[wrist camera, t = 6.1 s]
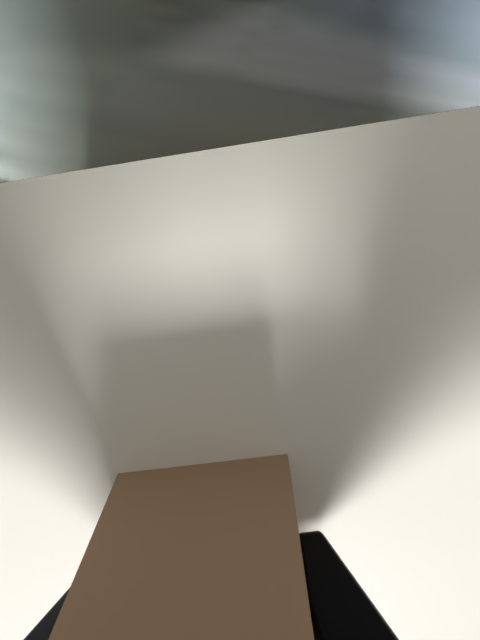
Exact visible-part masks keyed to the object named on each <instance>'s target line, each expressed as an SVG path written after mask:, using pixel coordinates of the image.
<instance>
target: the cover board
mask: <svg viewBox="0 0 480 640" xmlns="http://www.w3.org/2000/svg"><path fill="white" fill-rule="evenodd" d="M311 531H320V532H322V533H323V534H324V536H325V537H326V538H327V540H328V541H329V543H330V544H331V545H332V547H333V548H334V550H335V551H336V552H337V554H338V555H339V557H340V558H341V559H342V561H343V562H344V563H345V565H346V566H347V568H348V569H349V570H350V572H351V573H352V575H353V576H354V577H355V579H356V580H357V582H358V583H359V584H360V586H361V587H362V589H363V590H364V591H365V593H366V594H367V596H368V597H369V598H370V600H371V601H372V603H373V604H374V605H375V607H376V608H377V609H378V611H379V612H380V614H381V615H382V616H383V618H384V619H385V621H386V622H387V623H388V625H389V626H390V628H391V629H392V630H393V632H394V633H395V635H396V636H397V637H398V639H399V640H480V106H476V107H470V108H464V109H458V110H451V111H445V112H439V113H433V114H427V115H420V116H414V117H408V118H402V119H395V120H389V121H383V122H377V123H371V124H364V125H358V126H352V127H346V128H339V129H333V130H327V131H321V132H315V133H308V134H302V135H296V136H290V137H283V138H277V139H271V140H265V141H258V142H252V143H246V144H240V145H234V146H227V147H221V148H215V149H209V150H202V151H196V152H190V153H184V154H178V155H171V156H165V157H159V158H153V159H146V160H140V161H134V162H128V163H122V164H115V165H109V166H103V167H97V168H90V169H84V170H78V171H72V172H66V173H59V174H53V175H47V176H41V177H34V178H28V179H22V180H16V181H10V182H3V183H0V640H23V639H24V638H25V637H26V636H27V635H28V634H29V633H30V631H31V630H32V629H33V628H34V627H35V626H36V625H37V624H38V623H39V621H40V620H41V619H42V618H43V617H44V616H45V615H46V614H47V612H48V611H49V610H50V609H51V608H52V607H53V606H54V605H55V603H56V602H57V601H58V600H59V599H60V598H61V597H62V596H63V594H64V593H65V592H66V591H67V590H68V589H69V588H70V589H69V591H68V594H67V596H66V599H65V601H64V603H63V606H62V608H61V610H60V613H59V615H58V618H57V620H56V622H55V625H54V627H53V630H52V632H51V634H50V637H49V639H48V640H314V634H313V627H312V620H311V613H310V606H309V599H308V592H307V586H306V579H305V572H304V565H303V558H302V551H301V544H300V537H299V533H301V532H311Z"/></svg>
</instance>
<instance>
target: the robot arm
mask: <svg viewBox="0 0 480 640" xmlns="http://www.w3.org/2000/svg"><path fill="white" fill-rule="evenodd" d="M299 537H300V544H301V551H302V558H303V565H304V572H305V579H306V586H307V592H308V599H309V606H310V613H311V620H312V627H313V634H314V640H399V639H398V637H397V636H396V635H395V633H394V632H393V630H392V629H391V628H390V626H389V625H388V623H387V622H386V621H385V619H384V618H383V616H382V615H381V614H380V612H379V611H378V609H377V608H376V607H375V605H374V604H373V603H372V601H371V600H370V598H369V597H368V596H367V594H366V593H365V591H364V590H363V589H362V587H361V586H360V584H359V583H358V582H357V580H356V579H355V577H354V576H353V575H352V573H351V572H350V570H349V569H348V568H347V566H346V565H345V563H344V562H343V561H342V559H341V558H340V557H339V555H338V554H337V552H336V551H335V550H334V548H333V547H332V545H331V544H330V543H329V541H328V540H327V538H326V537H325V536H324V534H323V533H322V532H320V531H311V532H301V533H299ZM69 589H70V588H69ZM69 589H68V590H67V591H66V592H65V593H64V594H63V596H62V597H61V598H60V599H59V600H58V601H57V602H56V603H55V605H54V606H53V607H52V608H51V609H50V610H49V611H48V612H47V614H46V615H45V616H44V617H43V618H42V619H41V620H40V621H39V623H38V624H37V625H36V626H35V627H34V628H33V629H32V630H31V631H30V633H29V634H28V635H27V636H26V637H25V638H24V639H23V640H48V639H49V637H50V634H51V632H52V630H53V627H54V625H55V622H56V620H57V618H58V615H59V613H60V610H61V608H62V606H63V603H64V601H65V599H66V596H67V594H68V591H69Z"/></svg>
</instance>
